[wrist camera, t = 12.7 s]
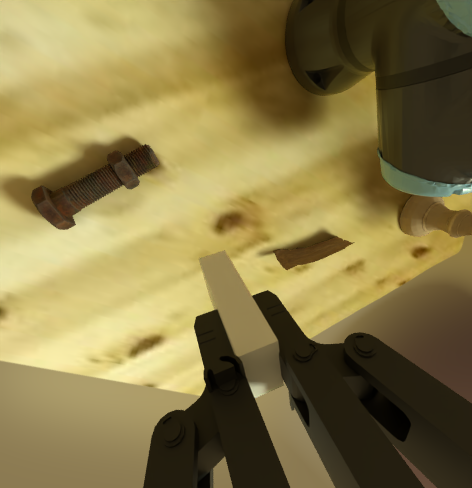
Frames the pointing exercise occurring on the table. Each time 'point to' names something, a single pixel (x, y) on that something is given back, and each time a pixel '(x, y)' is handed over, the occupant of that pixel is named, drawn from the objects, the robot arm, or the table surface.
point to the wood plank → (310, 252)
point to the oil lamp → (433, 217)
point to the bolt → (93, 186)
